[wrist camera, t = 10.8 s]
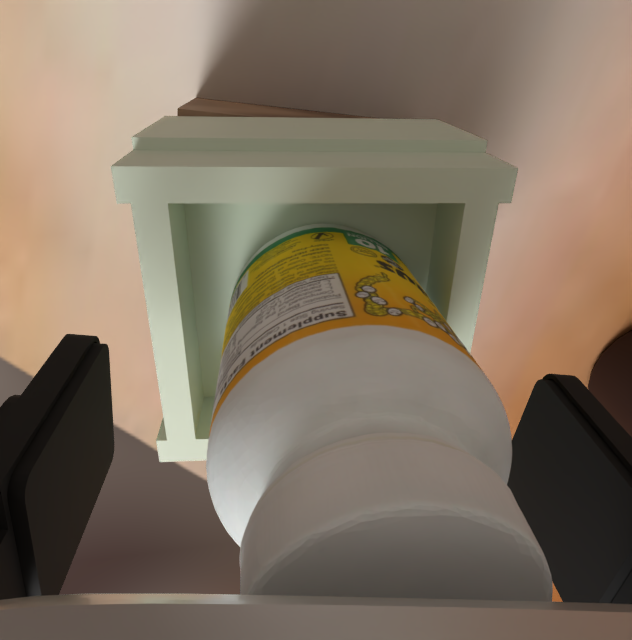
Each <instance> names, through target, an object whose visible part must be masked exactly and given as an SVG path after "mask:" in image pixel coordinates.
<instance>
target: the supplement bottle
mask: <svg viewBox="0 0 632 640" xmlns="http://www.w3.org/2000/svg"><path fill="white" fill-rule="evenodd" d="M511 463H512V440H511V432H510V426H509V422H508V418H507V415H506V412H505V409H504V406H503V404H502V402H501V400H500V398H499V396H498V394H497V392H496V390H495V389H494V387H493V385H492V384H491V382H490V381H489V379H488V378H487V376H486V375H485V373H484V372H483V371H482V369H481V368H480V367H479V365H478V364H477V363H476V361H475V360H474V359H473V357H472V356H471V354H470V353H469V352H468V350H467V349H466V347H465V346H464V344H463V343H462V342H461V341H460V339H459V338H458V337H457V336H456V334H455V333H454V331H453V330H452V329H451V327H450V326H449V324H448V323H447V322H446V320H445V319H444V318H443V316H442V315H441V314H440V312H439V311H438V309H437V308H436V306H435V305H434V304H433V302H432V301H431V300H430V298H429V297H428V295H427V294H426V292H425V291H424V290H423V289H422V287H421V286H420V285H419V283H418V282H417V280H416V279H415V278H414V276H413V275H412V274H411V272H410V271H409V269H408V268H407V266H406V265H405V264H404V263H403V262H402V260H401V259H400V258H399V257H398V256H397V255H396V254H395V252H394V251H393V250H391V249H390V248H389V247H388V246H387V245H385V244H384V243H383V242H381V241H379V240H378V239H376V238H374V237H372V236H370V235H368V234H366V233H363V232H361V231H358V230H356V229H353V228H350V227H346V226H341V225H336V224H311V225H305V226H302V227H298V228H295V229H292V230H290V231H287V232H285V233H283V234H281V235H279V236H277V237H276V238H274V239H272V240H271V241H269V242H268V243H266V244H265V245H264V246H262V247H261V248H260V249H259V250H258V251H257V252H256V253H255V254H254V255H253V256H252V257H251V259H250V260H249V261H248V262H247V264H246V265H245V266H244V268H243V270H242V271H241V273H240V275H239V277H238V279H237V281H236V284H235V286H234V289H233V292H232V296H231V301H230V306H229V311H228V318H227V323H226V327H225V334H224V342H223V348H222V355H221V362H220V368H219V375H218V380H217V386H216V393H215V400H214V406H213V412H212V419H211V425H210V432H209V440H208V448H207V461H206V469H207V481H208V486H209V491H210V494H211V498H212V501H213V504H214V507H215V510H216V512H217V514H218V516H219V518H220V520H221V522H222V524H223V525H224V527H225V529H226V530H227V532H228V533H229V534H230V536H231V537H232V538H233V539H234V541H235V542H236V543H237V544H238V545H239V546H240V547H241V549H240V569H241V585H240V595H285V596H340V597H385V598H429V599H471V600H509V601H543V602H552V577H551V573H550V569H549V566H548V563H547V561H546V558H545V555H544V553H543V551H542V549H541V547H540V545H539V544H538V542H537V540H536V538H535V536H534V534H533V532H532V530H531V528H530V526H529V525H528V523H527V521H526V519H525V517H524V515H523V513H522V512H521V510H520V508H519V506H518V504H517V502H516V500H515V498H514V496H513V494H512V492H511V490H510V488H509V487H508V486H507V483H508V479H509V474H510V469H511Z"/></svg>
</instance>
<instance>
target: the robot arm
mask: <svg viewBox="0 0 632 640" xmlns="http://www.w3.org/2000/svg"><path fill="white" fill-rule="evenodd" d="M113 454H114V431H113V414H112V396H111V379H110V362H109V348H108V345H107V344H100V342H99V339H98V337H97V336H87V335H75V334H66V335H65V336H64V338H63V339H62V340H61V342H60V343H59V344H58V346H57V347H56V348H55V350H54V351H53V352H52V354H51V355H50V357H49V358H48V359H47V361H46V362H45V363H44V365H43V366H42V367H41V369H40V370H39V371H38V373H37V374H36V375H35V377H34V378H33V380H32V381H31V382H30V384H29V385H28V386H27V388H26V389H25V391H24V392H23V393H22V394H21V395H13V396H11V397H9V398H8V399H7V400H6V401H5V402H4V403H3V405H2V406H1V407H0V640H632V437H631V436H630V435H629V434H628V433H627V432H626V431H625V429H624V428H623V427H622V426H621V425H620V424H619V423H618V422H617V421H616V420H615V418H614V417H613V416H612V415H611V414H610V413H609V412H608V411H607V410H606V409H605V408H604V406H603V405H602V404H601V403H600V402H599V401H598V400H597V399H596V398H595V397H594V395H593V394H592V393H591V392H590V391H589V390H588V389H587V388H586V387H585V386H584V385H583V383H582V382H581V381H580V380H579V379H578V378H577V377H575V376H571V375H558V374H547V375H546V376H545V377H543V379H541V380H538V381H537V382H536V384H535V386H534V388H533V391H532V393H531V395H530V398H529V400H528V403H527V405H526V408H525V410H524V413H523V415H522V417H521V420H520V422H519V425H518V427H517V430H516V432H515V435H514V437H513V439H512V463H511V469H510V474H509V479H508V483H507V486H508V487H509V488H510V490H511V492H512V494H513V496H514V498H515V500H516V502H517V504H518V506H519V508H520V510H521V512H522V513H523V515H524V517H525V519H526V521H527V523H528V525H529V526H530V528H531V530H532V532H533V534H534V536H535V538H536V540H537V542H538V544H539V545H540V547H541V549H542V551H543V553H544V555H545V558H546V561H547V563H548V566H549V569H550V573H551V577H552V581H553V583H554V585H555V587H556V589H557V591H558V593H559V595H560V597H561V599H562V601H563V602H543V601H509V600H471V599H429V598H385V597H340V596H285V595H224V594H70V595H59V593H60V590H61V588H62V585H63V583H64V580H65V578H66V575H67V573H68V570H69V568H70V565H71V563H72V560H73V558H74V555H75V553H76V550H77V547H78V545H79V543H80V540H81V538H82V535H83V533H84V530H85V528H86V525H87V523H88V520H89V518H90V515H91V513H92V510H93V508H94V505H95V503H96V500H97V497H98V495H99V493H100V490H101V487H102V485H103V483H104V480H105V477H106V475H107V473H108V470H109V467H110V465H111V462H112V459H113Z"/></svg>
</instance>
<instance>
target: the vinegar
mask: <svg viewBox="0 0 632 640" xmlns="http://www.w3.org/2000/svg"><path fill="white" fill-rule="evenodd" d="M588 389H589V391H590V392H591V393H592V394H593V395H594V397H595V398H596V399H597V400H598V401H599V402H600V403H601V404H602V405H603V406H604V408H605V409H606V410H607V411H608V412H609V413H610V414H611V415H612V416H613V417H614V418H615V420H616V421H617V422H618V423H619V424H620V425H621V426H622V427H623V428H624V429H625V431H626V432H627V433H628V434H629V435H630V436H631V437H632V331H630V332H628V333H627V334H625V335H624V336H622V337H620V338H619V339H617V340H616V341H615V342H614V343H613V344H612V345H611V346H610V347H609V348H608V349H607V350H606V351H605V352H604V353H603V354H602V355H601V356H600V358H599V360H598V361H597V363H596V365H595V366H594V368H593V369H592V372H591V376H590V380H589V384H588Z"/></svg>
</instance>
